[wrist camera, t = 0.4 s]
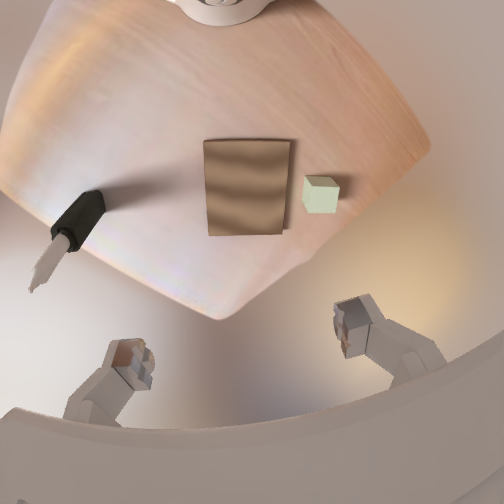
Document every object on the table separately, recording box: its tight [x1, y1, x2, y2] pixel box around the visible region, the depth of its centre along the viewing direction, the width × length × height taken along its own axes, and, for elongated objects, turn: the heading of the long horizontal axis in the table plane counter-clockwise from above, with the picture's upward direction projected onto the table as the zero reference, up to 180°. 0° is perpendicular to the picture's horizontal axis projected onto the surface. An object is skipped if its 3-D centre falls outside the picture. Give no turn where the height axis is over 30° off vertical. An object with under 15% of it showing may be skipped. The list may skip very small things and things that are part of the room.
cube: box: [302, 176, 340, 213], centre depth 47 cm, size 5×5×5 cm
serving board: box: [203, 139, 290, 236], centre depth 47 cm, size 18×14×2 cm
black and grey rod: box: [28, 191, 106, 293], centre depth 36 cm, size 5×5×25 cm
